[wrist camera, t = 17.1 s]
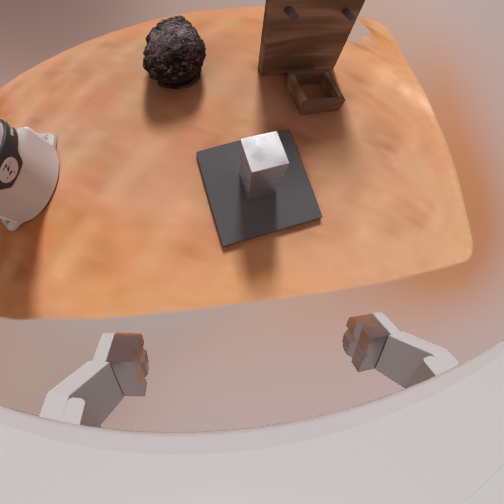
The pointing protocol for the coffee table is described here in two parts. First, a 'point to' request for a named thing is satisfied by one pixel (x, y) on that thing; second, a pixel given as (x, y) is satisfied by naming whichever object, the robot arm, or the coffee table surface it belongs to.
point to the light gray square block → (262, 164)
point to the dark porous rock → (174, 53)
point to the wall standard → (307, 46)
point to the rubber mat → (261, 208)
